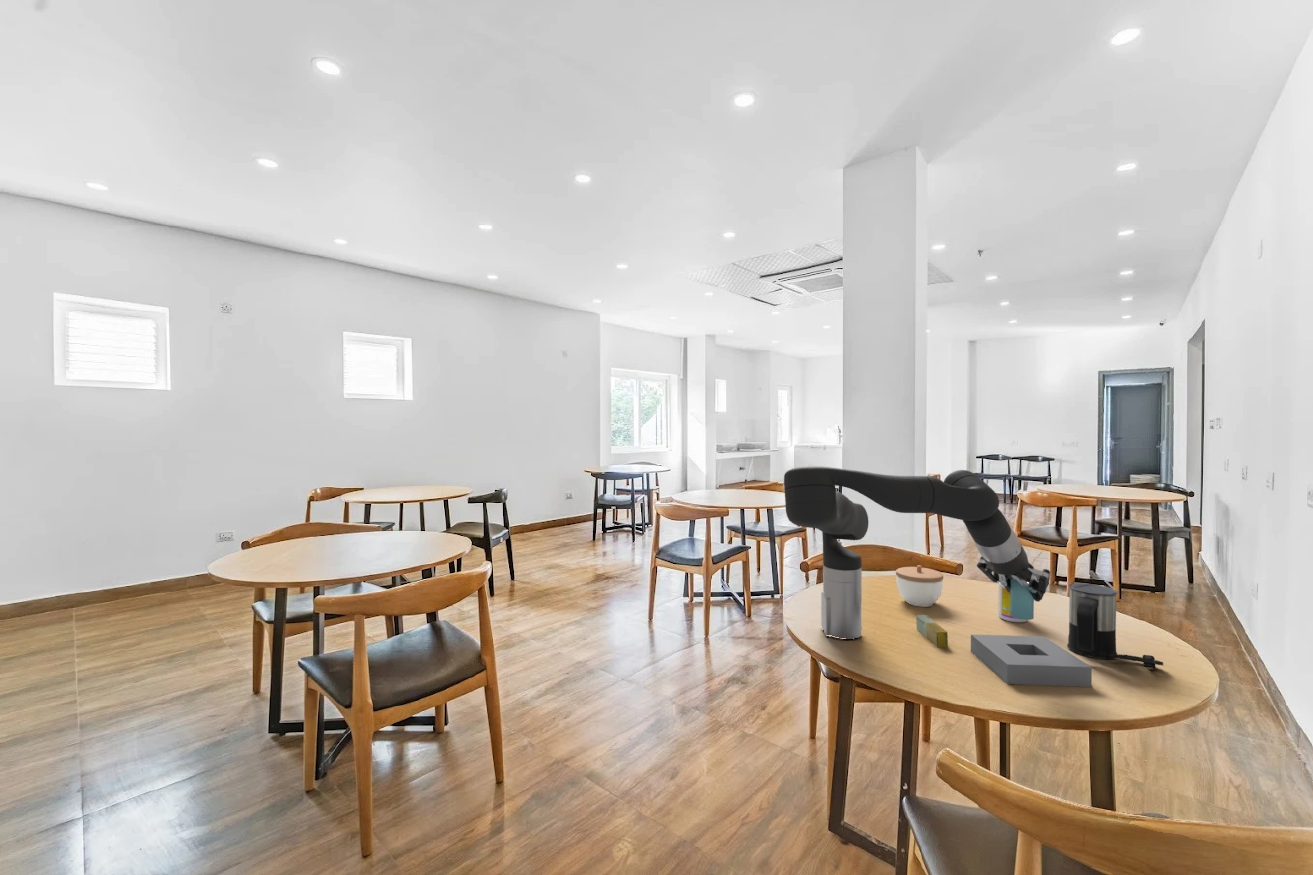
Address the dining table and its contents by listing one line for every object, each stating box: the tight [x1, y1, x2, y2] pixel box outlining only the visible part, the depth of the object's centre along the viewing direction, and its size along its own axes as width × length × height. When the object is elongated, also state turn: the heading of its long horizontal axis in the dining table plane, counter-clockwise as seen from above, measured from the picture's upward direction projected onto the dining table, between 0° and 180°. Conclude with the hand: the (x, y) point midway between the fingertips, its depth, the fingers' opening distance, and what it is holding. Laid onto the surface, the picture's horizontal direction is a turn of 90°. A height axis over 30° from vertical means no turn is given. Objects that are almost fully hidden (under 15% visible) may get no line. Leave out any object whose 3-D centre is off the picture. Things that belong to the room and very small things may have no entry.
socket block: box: [970, 634, 1093, 688], centre depth 120 cm, size 16×16×4 cm
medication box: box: [915, 613, 949, 648], centre depth 137 cm, size 12×3×4 cm, turn 178°
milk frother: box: [1066, 582, 1164, 669], centre depth 124 cm, size 14×16×15 cm
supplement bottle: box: [998, 582, 1028, 623], centre depth 149 cm, size 7×7×13 cm
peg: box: [1010, 579, 1035, 621], centre depth 119 cm, size 4×4×10 cm
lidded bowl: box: [895, 564, 944, 608], centre depth 163 cm, size 13×13×11 cm
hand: (1026, 594), depth 120 cm, fingers closed on peg, 4 cm apart
